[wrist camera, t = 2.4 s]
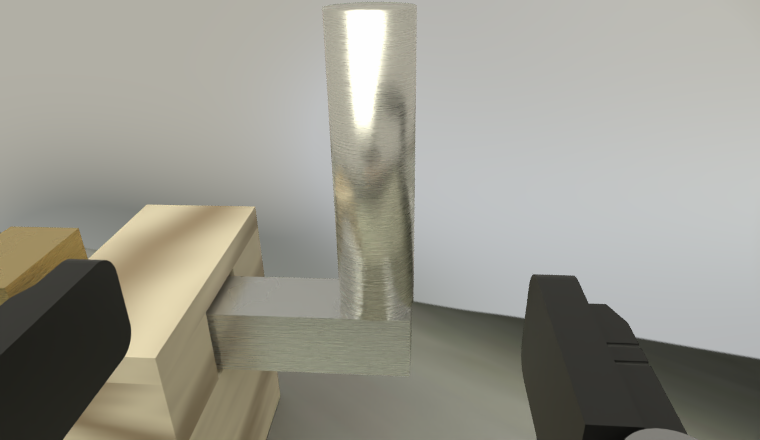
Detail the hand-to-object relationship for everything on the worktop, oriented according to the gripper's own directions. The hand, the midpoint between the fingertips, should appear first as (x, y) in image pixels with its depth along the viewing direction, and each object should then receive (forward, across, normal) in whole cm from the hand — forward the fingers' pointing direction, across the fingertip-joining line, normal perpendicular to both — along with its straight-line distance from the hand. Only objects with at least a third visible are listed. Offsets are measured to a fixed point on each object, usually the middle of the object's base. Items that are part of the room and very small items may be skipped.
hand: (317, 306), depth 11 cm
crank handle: (+11, +9, +11) cm, 18 cm away
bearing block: (+11, +10, +20) cm, 25 cm away
